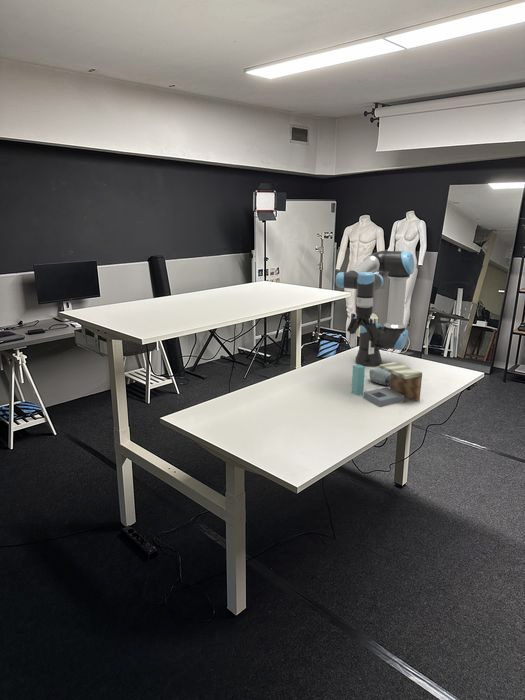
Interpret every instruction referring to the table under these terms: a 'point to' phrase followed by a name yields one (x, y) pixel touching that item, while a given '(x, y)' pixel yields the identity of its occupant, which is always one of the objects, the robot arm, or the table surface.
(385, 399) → the socket
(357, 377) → the peg
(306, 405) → the table surface
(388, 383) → the grey yarn spool
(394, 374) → the wood grain block
